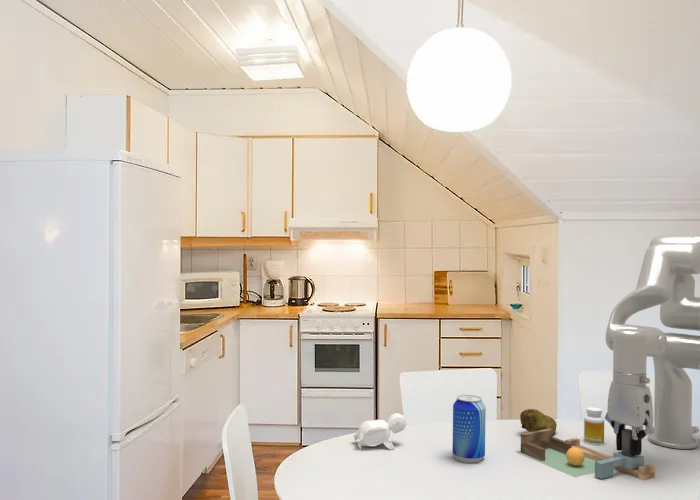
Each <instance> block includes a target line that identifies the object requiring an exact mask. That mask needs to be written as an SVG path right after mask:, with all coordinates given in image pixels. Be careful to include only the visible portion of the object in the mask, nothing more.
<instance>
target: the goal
mask: <svg viewBox="0 0 700 500" xmlns="http://www.w3.org/2000/svg"><path fill="white" fill-rule="evenodd" d="M548 448H551V449H553V450H556V451H558V452H561V453H564V454H566V453H567V451H568V450H569V449H570V448H572V444H571V443H569V442H566V441H565V440H564V439H560V438H558V437H555V436H554V434H553V429H550V428H549V429H544V430H539V431H533V432H529V431H527V432H523V433H520V451H521V453H524V454H526V455H528V456H531V457H533V458H536V459H538V460H540V461H545V449H548Z"/></svg>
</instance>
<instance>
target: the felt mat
mask: <svg viewBox="0 0 700 500" xmlns="http://www.w3.org/2000/svg"><path fill="white" fill-rule="evenodd" d="M515 453H518V454H519V455H522V456H524V457H527V458H529V459H532V460H533V461H536V462H539V463H541V464H543V465H545V466H548V467H550V468H552V469H554V470H557V471H559V472H562V473H564V474H566V475H568V476H571V477H573V478H577V477H582V476H585V475H590V474H593V473H594V474H595V461H593V460H590V459H588V458H585V457H584V462H583V463H582V464H581V465H579V466H574V465H571V464H570V463H569V462H568V461H567V458H566V454H564V453H561V452H558V451H556V450H553V449H551V448H548V449H545V461H540V460H538V459H536V458H533V457H531V456H528V455H526V454H524V453H521V450H517V451H515Z"/></svg>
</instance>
